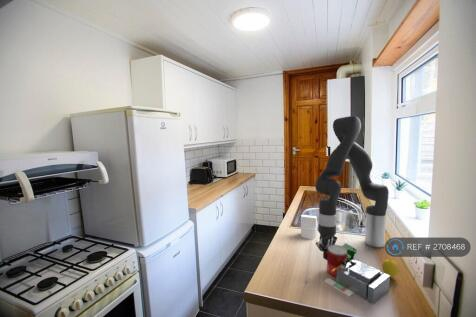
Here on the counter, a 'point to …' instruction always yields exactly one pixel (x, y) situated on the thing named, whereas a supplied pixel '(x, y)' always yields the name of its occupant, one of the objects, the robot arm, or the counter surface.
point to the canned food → (336, 258)
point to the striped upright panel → (339, 287)
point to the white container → (308, 226)
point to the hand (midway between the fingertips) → (326, 259)
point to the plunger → (343, 267)
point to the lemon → (390, 267)
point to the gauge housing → (364, 281)
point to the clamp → (349, 252)
